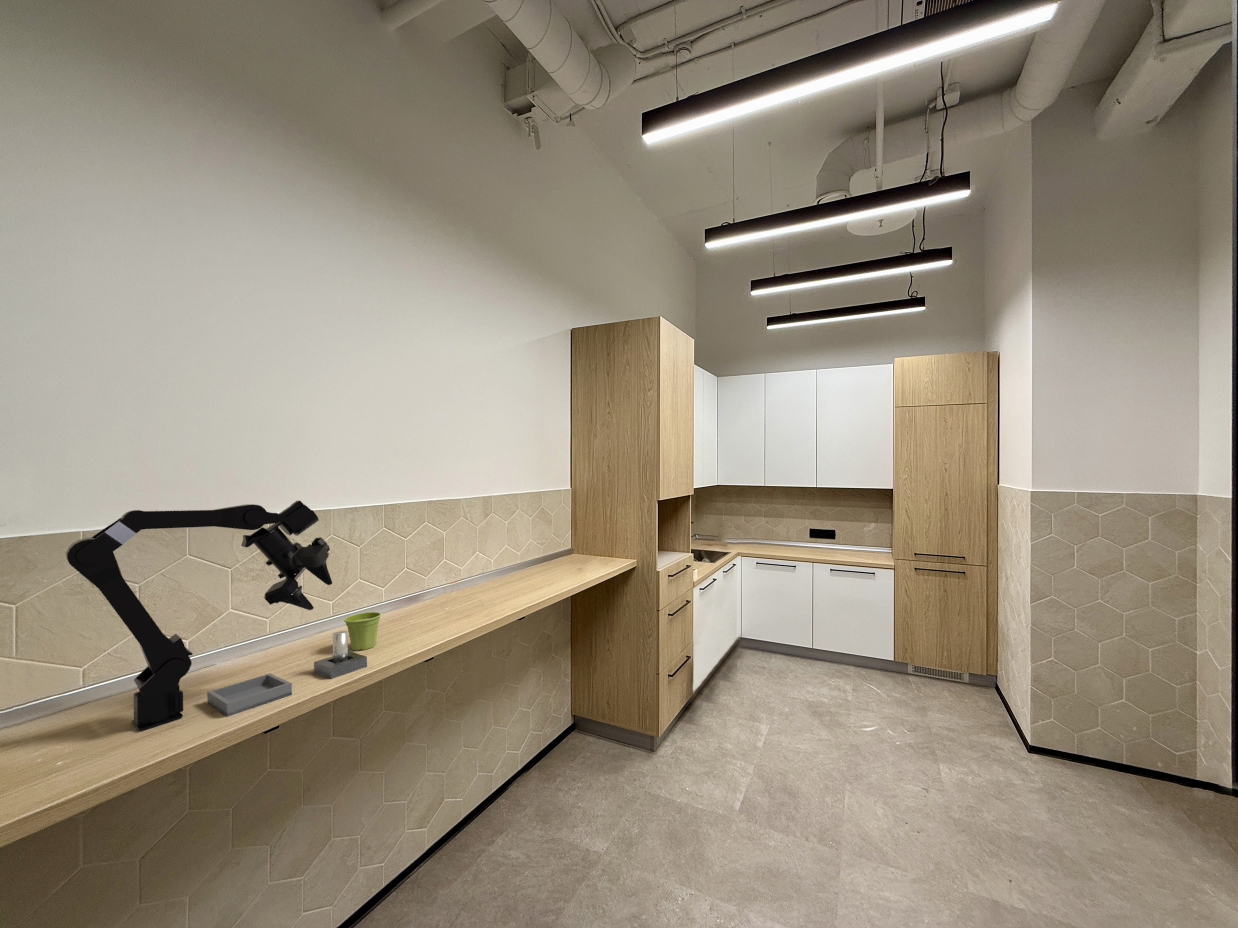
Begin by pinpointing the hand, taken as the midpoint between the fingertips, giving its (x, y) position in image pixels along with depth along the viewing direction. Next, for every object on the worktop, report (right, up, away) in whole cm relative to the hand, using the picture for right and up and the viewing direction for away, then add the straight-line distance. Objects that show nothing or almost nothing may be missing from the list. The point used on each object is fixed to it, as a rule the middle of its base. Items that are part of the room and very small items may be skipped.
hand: (321, 596), depth 122 cm
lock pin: (+4, -18, +1) cm, 19 cm away
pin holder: (+4, -18, +1) cm, 19 cm away
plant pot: (+1, -19, +17) cm, 26 cm away
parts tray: (-7, -18, -15) cm, 25 cm away
